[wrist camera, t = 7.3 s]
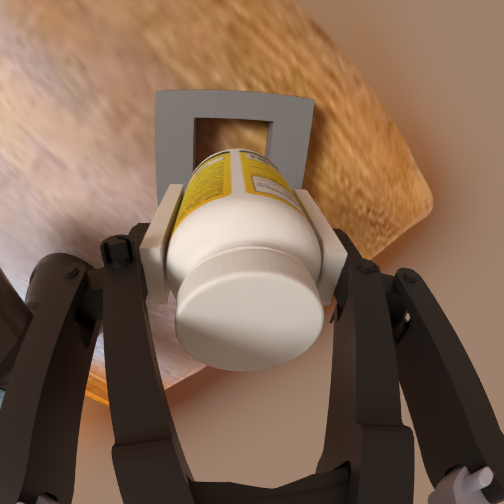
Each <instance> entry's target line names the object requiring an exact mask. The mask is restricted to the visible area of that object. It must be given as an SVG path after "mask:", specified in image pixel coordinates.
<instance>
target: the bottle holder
mask: <svg viewBox="0 0 504 504" xmlns="http://www.w3.org/2000/svg"><path fill="white" fill-rule="evenodd" d="M314 102H315V99H309V98H304V97H297V96H289V95H281V94H272V93H262V92H250V91H234V90H164V91H156V107H155V148H156V179H157V197H158V207H159V205H160V203H161V201H162V199H163V197H164V195H165V193H166V191H167V189H168V187H169V185H170V184H183V187H184V194H185V191H186V188H187V185H188V182H189V180H190V178H191V176H192V174H193V172H194V171H195V169H196V131H197V118H232V119H250V120H263V121H269V124H268V134H267V143H266V153H265V157H266V158H268V159H269V160H270V161H271V162H272V163H273V164H274V165H275V166H276V167H277V168H278V170H279V171H280V172H281V174H282V175H283V177H284V179H285V181H286V182H287V184H288V186H289V188H290V189H291V191H292V193H293V190H294V189H302V184H303V178H304V172H305V165H306V159H307V152H308V146H309V139H310V132H311V125H312V117H313V110H314Z"/></svg>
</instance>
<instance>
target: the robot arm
mask: <svg viewBox="0 0 504 504" xmlns="http://www.w3.org/2000/svg"><path fill="white" fill-rule="evenodd" d="M293 195H294V196H295V198H296V200H297V202H298V204H299V205H300V207H301V209H302V211H303V212H304V214H305V216H306V218H307V220H308V221H309V223H310V225H311V227H312V229H313V231H314V233H315V235H316V237H317V240H318V243H319V247H320V251H321V271H320V275H319V279H318V281H317V284H316V287H317V290H318V293H319V296H320V299H321V302H322V305H324V306H325V305H331V302H332V300H333V296H335V298H336V300H337V304H336V307H335V310H334V312H333V315H332V317H331V320H330V323H332V322H333V320H334V337H333V357H332V373H331V386H330V397H329V409H328V417H327V426H326V434H325V442H324V449H323V453H322V456H321V458H320V460H319V462H318V465H317V468H316V473H315V474H312V475H310V476H307V477H305V478H302V479H300V480H297V481H295V482H292V483H289V484H287V485H284V486H281V487H278V488H274V489H269V488H261V487H254V486H248V485H243V484H237V483H232V482H196V481H194V478H193V476H192V473H191V471H190V469H189V466H188V464H187V462H186V459H185V456H184V453H183V451H182V448H181V445H180V442H179V439H178V436H177V432H176V429H175V426H174V423H173V420H172V416H171V413H170V409H169V406H168V402H167V398H166V395H165V391H164V387H163V383H162V379H161V375H160V371H159V367H158V362H157V358H156V353H155V349H154V344H153V339H152V334H151V329H150V323H149V318H148V312H147V307H146V303H145V301H146V298H147V295H148V300H149V304H167V301H168V296H169V292H170V286H169V283H168V279H167V274H166V256H167V249H168V245H169V241H170V238H171V235H172V231H173V228H174V225H175V222H176V219H177V215H178V212H179V209H180V206H181V203H182V200H183V197H184V187H183V184H170V185H169V187H168V189H167V191H166V193H165V195H164V197H163V199H162V201H161V203H160V205H159V207H158V209H157V211H156V213H155V215H154V217H153V219H152V222H151V223H138V224H137V225H135V226H134V227H133V228H132V229H131V231H130V232H129V234H128V235H115V236H111V237H109V238H107V239H105V240H104V241H103V242H102V243H101V245H100V249H101V254H102V258H103V262H104V267H103V268H100V269H96V270H95V269H94V268H92V267H91V266H90V265H88V264H87V263H85V262H84V261H82V260H80V259H78V258H76V257H73V256H70V255H67V254H60V253H56V254H50V255H47V256H45V257H44V258H42V259H41V260H40V261H39V263H38V264H37V265H36V267H35V268H34V270H33V272H32V274H31V277H30V282H29V286H28V289H27V293H26V298H25V302H23V300H22V299H21V297H20V296H19V295H18V293H17V292H16V290H15V289H14V287H13V286H12V285H11V283H10V282H9V280H8V279H7V277H6V275H5V274H4V272H3V271H2V269H1V268H0V504H71V502H72V497H73V493H74V482H75V467H76V454H77V444H78V435H79V427H80V420H81V413H82V407H83V400H84V396H85V390H86V385H87V380H88V375H89V370H90V366H91V361H92V357H93V353H94V349H95V345H96V341H97V337H98V336H99V335H100V334H101V332H102V331H103V336H104V356H105V369H106V380H107V390H108V398H109V406H110V413H111V419H112V425H113V431H114V436H115V444H114V446H113V447H112V460H113V466H114V470H115V474H116V478H117V482H118V486H119V489H120V493H121V496H122V500H123V503H124V504H413V495H414V437H413V432H412V430H411V428H410V427H408V426H405V425H403V423H402V419H401V402H400V390H399V382H400V385H401V388H402V390H403V394H404V396H405V400H406V403H407V406H408V409H409V412H410V415H411V419H412V422H413V426H414V429H415V433H416V436H417V439H418V443H419V447H420V451H421V455H422V459H423V462H424V466H425V469H426V472H427V474H428V477H429V479H430V482H431V483H432V485H433V487H434V489H435V491H433V492H432V493H431V494H430V495H429V497H428V504H497V503H499V502H502V501H504V435H503V433H502V432H501V430H500V428H499V425H498V422H497V420H496V417H495V414H494V412H493V409H492V407H491V404H490V402H489V399H488V397H487V395H486V393H485V390H484V388H483V386H482V383H481V381H480V379H479V377H478V375H477V373H476V371H475V369H474V367H473V365H472V363H471V361H470V359H469V357H468V355H467V353H466V351H465V349H464V347H463V345H462V343H461V342H460V340H459V338H458V336H457V334H456V332H455V331H454V329H453V327H452V325H451V324H450V322H449V320H448V319H447V317H446V315H445V314H444V312H443V311H442V309H441V307H440V305H439V304H438V302H437V301H436V299H435V297H434V296H433V294H432V293H431V292H430V290H429V288H428V287H427V285H426V284H425V282H424V281H423V279H422V278H421V277H420V275H419V274H418V273H416V272H415V271H414V270H411V269H407V268H400V269H398V270H397V272H396V274H395V276H391V275H387V274H383V273H381V272H380V269H379V267H378V266H377V265H376V264H375V263H373V262H372V261H370V260H367V259H363V258H362V256H361V255H360V253H359V252H358V250H357V249H356V247H355V246H354V244H353V243H352V241H351V240H350V238H349V237H348V236H347V234H346V233H344V232H343V231H342V230H340V229H333V228H331V226H330V225H329V223H328V221H327V220H326V218H325V217H324V215H323V214H322V212H321V211H320V209H319V208H318V206H317V205H316V203H315V202H314V200H313V199H312V197H311V196H310V194H309V193H308V191H307V190H303V189H294V190H293ZM407 313H409V315H410V320H409V321H407V320H406V318H405V316H406V315H407Z"/></svg>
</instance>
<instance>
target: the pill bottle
mask: <svg viewBox="0 0 504 504" xmlns="http://www.w3.org/2000/svg"><path fill="white" fill-rule="evenodd" d="M320 271H321V251H320V247H319V243H318V240H317V237H316V235H315V233H314V231H313V229H312V227H311V225H310V223H309V221H308V220H307V218H306V216H305V214H304V212H303V211H302V209H301V207H300V205H299V204H298V202H297V200H296V198H295V196H294V195H293V193H292V191H291V189H290V188H289V186H288V184H287V182H286V181H285V179H284V177H283V175H282V174H281V172H280V171H279V170H278V168H277V167H276V166H275V165H274V164H273V163H272V162H271V161H270V160H269V159H268V158H266V157H265V156H263V155H261V154H259V153H257V152H254V151H251V150H246V149H228V150H224V151H220V152H217V153H215V154H213V155H211V156H209V157H208V158H206V159H205V160H204V161H203V162H202V163H201V164H200V165H199V166H198V167H197V168H196V169H195V171H194V172H193V174H192V176H191V178H190V180H189V182H188V185H187V188H186V191H185V194H184V197H183V200H182V203H181V206H180V209H179V212H178V215H177V219H176V222H175V225H174V228H173V231H172V235H171V238H170V241H169V245H168V249H167V256H166V274H167V279H168V283H169V286H170V288H171V291H172V293H173V294H174V296H175V298H176V299H177V304H176V313H175V331H176V335H177V338H178V340H179V342H180V344H181V346H182V347H183V348H184V349H185V350H186V351H187V352H188V353H189V354H190V355H191V356H192V357H194V358H195V359H196V360H198V361H200V362H202V363H204V364H206V365H209V366H212V367H215V368H218V369H223V370H229V371H257V370H263V369H269V368H272V367H276V366H279V365H282V364H284V363H287V362H289V361H291V360H293V359H295V358H296V357H298V356H300V355H301V354H302V353H304V352H305V351H306V350H307V349H308V348H309V347H310V346H311V345H312V344H313V343H314V342H315V340H316V339H317V338H318V336H319V334H320V332H321V330H322V327H323V323H324V310H323V305H322V302H321V299H320V296H319V293H318V290H317V287H316V284H317V281H318V279H319V275H320Z"/></svg>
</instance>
